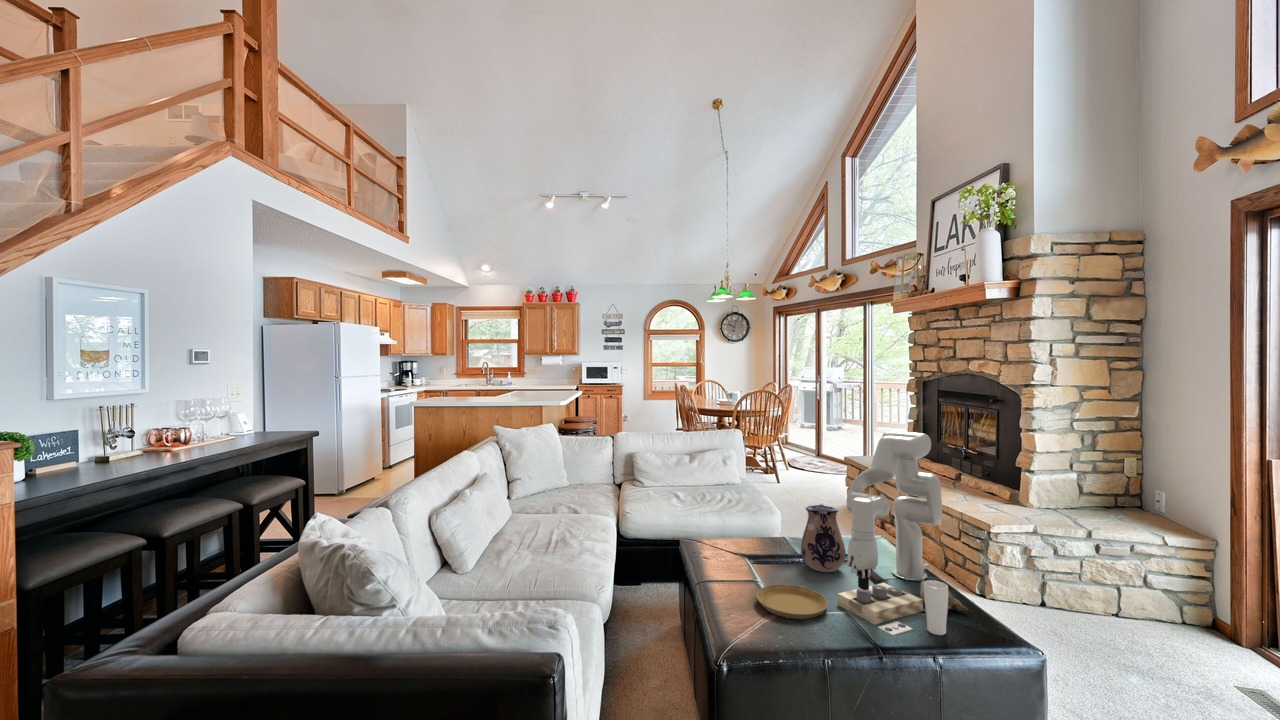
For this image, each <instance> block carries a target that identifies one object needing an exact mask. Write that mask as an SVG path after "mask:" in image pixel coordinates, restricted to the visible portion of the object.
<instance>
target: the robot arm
mask: <svg viewBox="0 0 1280 720" xmlns="http://www.w3.org/2000/svg"><path fill="white" fill-rule="evenodd" d="M881 436H882V437H880V439H879V440H878V443H877V446H876V449H875V452H874V455H873V458H872V460H871V464H870V467H869V468H867V469H866V470H864V471H862V472H861V473H859V474H858V475H856V477H854V479H853V480H852V482H851V484H850V487H849V488H848V492H847V495H846V500H845V501H846V502H845V503H846V508H847V509H848V510H849V511H850V512H851V514H850V515H851V516H850V517H851V521H850V522H851V524H850V525H851V528H850V529H851V538H849V540H848V541H849V542H848V546H847V557H846V558H847V559H846V560H847V561H846V563H847V566H848V567H849V568H850V573H852V574H855V575H856V577H857V587H858V589H859V588H861V589H863V590H869V586H870V578H871V574H872V572H873V571H875V570H876V569H877V566H878V564H879V555H878V554H879V553H878V544H877V539H876V519H880V518H886V516H888V515H889V513H890V510H891V502H890V501H889V499H888V498H887V497H885V496H883V495H879V494H872V493H866V492H863V491H864V490H865V489H866V488H867V487H869V486H872V485H874V484H875V485H876V484H879V483H880V484H881V483H883V482H887V481H890V480H892V479H893V478H894V477H895V485H896V490H897V491H898V493H901V494H904V495H905V496H904V495H901V496H898V497H896V498H895V499H894V500H893V503H892V508H893V509H892V510H893V514H894V519H895V563H896V564H895V567H894V568H893V569H896V570H893V569H892V570H891V572H892V571H893V573H895V574H897V575H899V576H901V577H904V578H908V579H915V578H916V579H925V578H927V579H928V575H927V573H925V570H928V569H930V568H931V567H930V564H929V563H924V564H923V532H922V530H921V528H920V526H919V525H918V524H922V525H923V524H924V525H929V526H937V525H940V524H941V522H942V519H943V504H942V501H943V500H942V486H941V481H940V479H939V477H938V476H937V475H936V474H934V473H930V472H923V471H920V469H919V460H920V459H922V458H923V457H926V456H927V455H928V454H929V453H930V452H931V448H932V440H931V438H930V436H929V435H928V434H926V433H923V432H913V431H904V430H903V431H902V430H899V431H898V430H887V431H885V432H883V433H882V435H881ZM906 495H907V496H906ZM908 495H909V496H908ZM914 496H916V497H914ZM919 497H922V498H919Z"/></svg>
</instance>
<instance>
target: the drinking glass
mask: <svg viewBox="0 0 1280 720" xmlns="http://www.w3.org/2000/svg"><path fill="white" fill-rule="evenodd" d="M948 590H949V586H948V584H946V583H945V582H942V581H939V580H934V579H933V580H931V579H930V580H925V582H924V599H925V602H924V607H925V619H926V630H927V631H928V632H929V633H930V634H933V635H936V636H944V635H946V633H947V623H948V614H947V610H948V611H949V609H948Z"/></svg>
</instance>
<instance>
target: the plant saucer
mask: <svg viewBox="0 0 1280 720" xmlns="http://www.w3.org/2000/svg"><path fill="white" fill-rule="evenodd" d="M755 595H756V599H757V601H758V602H759V604H760V605H761V606H762V607H763V608H764V609H766V610H767V611H768V612H769V613H771V614H773V615H775V616H779V617H781V616H782V617H781V618H784V617H787V618H786V619H789V618H796V619H795V620H806V619H805V618H810V619H813V618H812V617H814V618H816V616H817V617H818V615H819V616H820V615H822V614H823V613H824V612H825V611H826V610H827V608H828V605H829V603H828V600H827V598H826V597H825V596H823V595H822V593H819V592H818V591H816V590H813V589H811V588H808V587H804V586H801V585H794V584H784V583H777V584H770V585H766V586H763V587H761V588H759V589H758V590H757V591H756V593H755ZM803 618H804V619H803Z"/></svg>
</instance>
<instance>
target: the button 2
mask: <svg viewBox="0 0 1280 720" xmlns="http://www.w3.org/2000/svg"><path fill="white" fill-rule="evenodd" d="M894 587H895V586H893V587H890V588H888V594H890V595H892V596H895V597H898V596H902V591H903V590H902V589H901V588H899V587H895V588H894Z"/></svg>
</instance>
